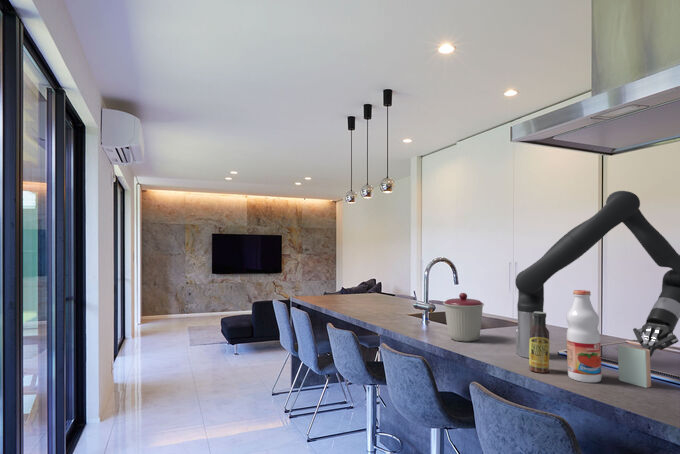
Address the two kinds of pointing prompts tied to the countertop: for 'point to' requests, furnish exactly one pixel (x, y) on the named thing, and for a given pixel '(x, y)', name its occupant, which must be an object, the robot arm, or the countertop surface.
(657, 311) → the robot arm
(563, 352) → the countertop surface
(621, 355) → the pale green flat block
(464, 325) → the canister
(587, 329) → the fruit juice
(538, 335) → the sauce bottle
